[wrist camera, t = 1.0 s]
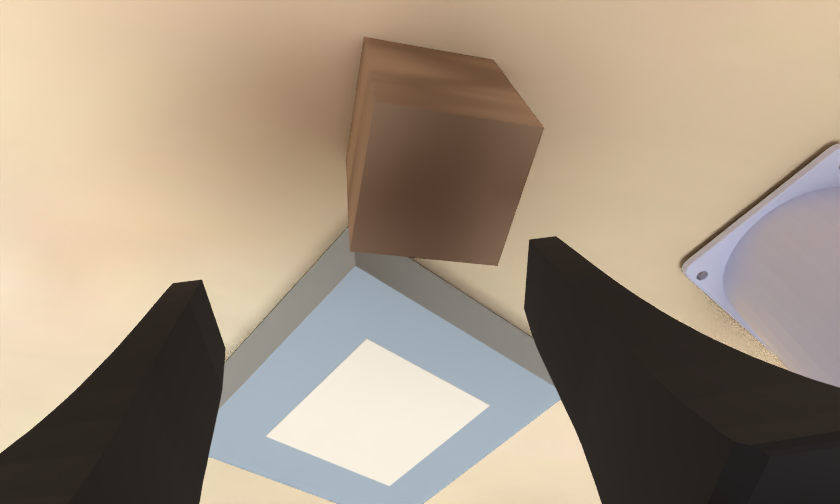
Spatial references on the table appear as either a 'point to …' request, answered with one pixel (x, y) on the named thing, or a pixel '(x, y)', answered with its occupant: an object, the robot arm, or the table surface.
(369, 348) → the slate plinth
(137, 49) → the table surface
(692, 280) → the robot arm
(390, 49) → the walnut block
